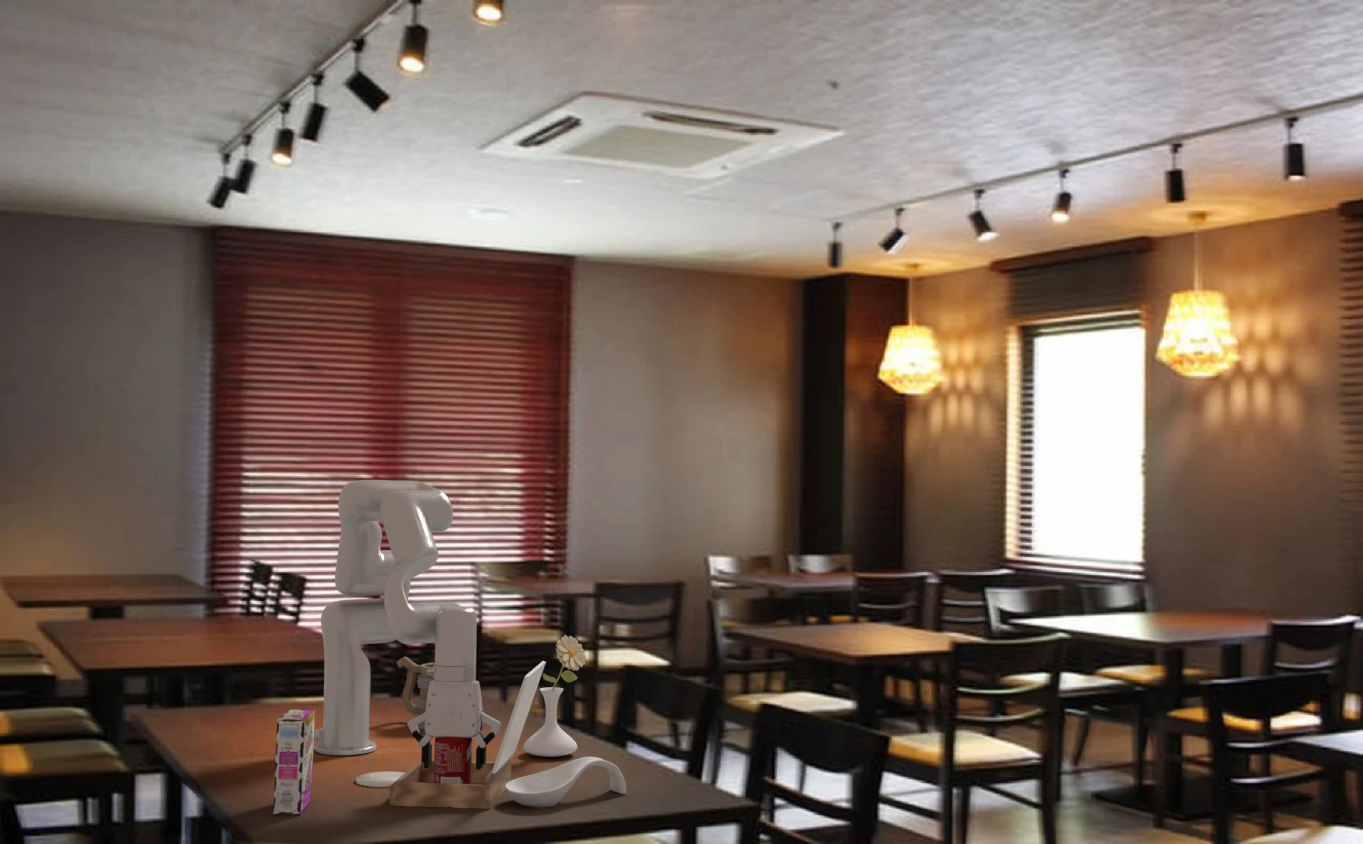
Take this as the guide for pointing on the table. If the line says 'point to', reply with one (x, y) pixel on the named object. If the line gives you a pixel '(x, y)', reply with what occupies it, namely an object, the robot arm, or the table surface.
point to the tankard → (422, 684)
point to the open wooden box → (449, 788)
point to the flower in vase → (551, 735)
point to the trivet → (378, 779)
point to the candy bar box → (294, 761)
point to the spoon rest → (559, 782)
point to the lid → (518, 718)
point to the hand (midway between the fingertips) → (453, 767)
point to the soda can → (453, 760)
